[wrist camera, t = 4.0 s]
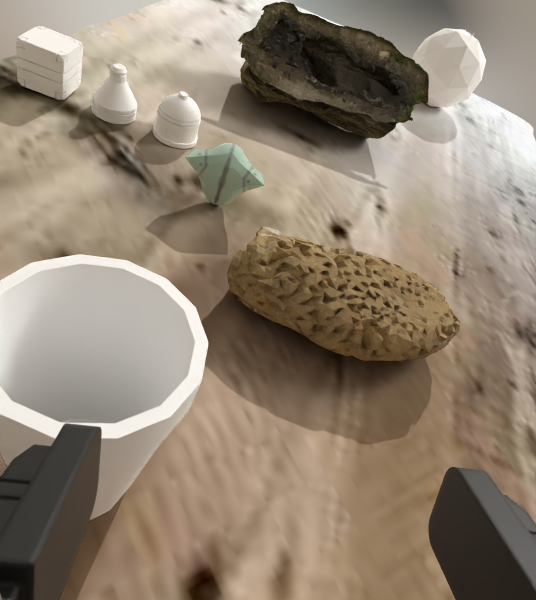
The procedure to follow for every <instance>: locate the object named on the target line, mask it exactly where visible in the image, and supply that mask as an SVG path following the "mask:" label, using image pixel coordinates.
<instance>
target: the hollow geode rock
mask: <svg viewBox="0 0 536 600" xmlns="http://www.w3.org/2000/svg"><path fill="white" fill-rule="evenodd" d="M262 10H264V14H263V15H261V18H260V20H259V21H258V23H257V25H256V27H255V28H253V29H252V30H251V31H249V32H246V33H244V34H243V35H242V36H241V37H240V39H239V40H238V41H239V42H241V43H242V44H243V45H242V50H241V58H245V60H246V61H245V63H244V64H243V66H242V68H241V69H240V70H241V80H242V83H243V84H244V85H245V86H246V87H247V88H248V89H249V90H250V91H251V92H253V93H255V95H256V98H257V102H275V101H277V102H279V103H289V104H292V105H294V106H296V107H299V108H302V109H304V110H306V111H310V112H313V113H314V115H315V116H317V117H319V118H321V119H323V120H324V121H326V122H330V123H332V124H335V125H337V126H340V127H342V128H343V129H345V130H348V131H352V132H353V134H357V135H359V136H363V137H365V138H367V139H368V138H376V139H378V138H382V137H384V136H385V135H386V134H387V133H389V132H391V131H392V130H393V129H394V128H395V127H396V124H397V123H399V122H401V123H402V122H406V121H408V120H411V121H412V120H413V119H412V118H411V117H410V116H411V112H412V110H413V105H415V104H420V103H421V101H424V102H426V103H428V90H429V76H428V73H427V72H426V71H425V70H424V69H423V68H422V67H421V66H420V65H419V64H417V63H415V60H413V59H410V58H408V57H405V56H404V55H402V54H401V53H400V52H399V51H398V50H397V49H396V47H395V46H394V45H393V44H392V43H391V42H390V41H387V40H385V39H384V38H382V37H378V36H376V35H375V34H374V33H371V32H369V31H364V30H361V29H356V28H352V27H348V26H344V27H343V26H339V25H335V24H333V23H330V22H327V21H326V20H324V19H322V18H320V17H318V16H316V15H312V14H307V13H301V12H299V11H298V10H297V8H296V7H295V5H294V4H291V3H287V2H280V3H277V2H276V3H272V4H270V5H266V6H265V7H264V8H263V9H262ZM241 43H240V44H241Z"/></svg>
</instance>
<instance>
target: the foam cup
mask: <svg viewBox="0 0 536 600" xmlns="http://www.w3.org/2000/svg"><path fill="white" fill-rule="evenodd" d="M208 344H209V343H208V340H207V337H206V334H205V332H204V329H203V326H202V324H201V321H200V318H199V315H198V313H197V310H196V307H195V306H194V305H193V304H192V303H191V302H190V301H189V300H188V299H187V298H186V297H185V296H184V295H183V294H182V293H181V292H180V291H179V290H178V289H177V288H176V287H175V286H174V285H173V284H172V283H171V282H169V281H168V280H167V279H166V278H164V277H162V276H160V275H157V274H155V273H153V272H151V271H149V270H147V269H144V268H142V267H140V266H138V265H136V264H133V263H131V262H129V261H127V260H120V259H112V258H104V257H97V256H89V255H81V254H79V255H73V256H67V257H61V258H56V259H50V260H44V261H38V262H32V263H30V264H29V265H27V266H25V267H23V268H21V269H20V270H18V271H16V272H14V273H13V274H11V275H9V276H7V277H5V278H4V279H2V280H0V453H1V455H2V457H3V459H4V461H5V463H6V465H7V467H8V466H9V464H10V463H11V461H12V460H13V459H14V458H15V457H17V456H18V455H20V454H21V453H23V452H24V451H25V450H27V449H28V448H30V447H31V446H32V445H34V444H35V445H45V446H51V445H52V444H53V442H54V440H55V439H56V437H57V435H58V433H59V432H60V430H61V428H62V427H63V425H64V424H65V423H69V424H78V425H87V426H96V427H101V430H102V438H101V452H100V466H99V480H98V490H97V495H96V500H95V504H94V508H93V511H92V514H91V517H90V520H92V519H94V518H96V517H98V516H100V515H102V514H104V513H106V512H108V511H110V510H111V509H112V507H113V506H114V505H115V504H116V503H117V501H118V500H119V499H120V498H121V497H122V496H123V494H124V493H125V492H126V491H127V489H128V488H129V487H130V486H131V484H132V483H133V481H134V480H135V479H136V477H137V476H138V474H139V473H140V472H141V470H142V469H143V467H144V466H145V465H146V463H147V462H148V460H149V459H150V457H151V456H152V455H153V453H154V452H155V450H156V449H157V448H158V446H159V445H160V444H161V443H162V442H163V441H164V439H165V438H166V437H167V436H168V435H169V434H170V432H171V431H172V430H173V429H174V428H175V427H176V425H177V424H178V423H179V422H180V421H181V419H182V418H183V417H184V416H185V415H186V414H187V412H188V411H189V410H190V407H191V405H192V403H193V400H194V398H195V396H196V393H197V391H198V388H199V386H200V384H201V381H202V375H203V370H204V365H205V359H206V354H207V349H208ZM90 520H89V521H90Z"/></svg>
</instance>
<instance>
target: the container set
mask: <svg viewBox="0 0 536 600" xmlns="http://www.w3.org/2000/svg"><path fill="white" fill-rule="evenodd" d="M16 43H17V45H18V46H17V56H18V57H17V66H18V67H17V77H18V78H17V80H18V82H19V83H20V84H21V86H25V87H26V88H29V89H32V90H34V91H37V92H39V93H42V94H45V95H47V96H50V97H53V98H55V97H56V99H58V100H64V99H65V98H67V97H68V96H69V95H70V94H71V93H72V92H73V91H75V90H76V89H77V88H78V87H79V85H80V83H81V72H82V70H81V69H82V57H83V50H82V49H83V45H82V43H81V42H80V41H78V40H76V39H73V38H71V37H68V36H65V35H63V34H61V33H58V32H55V31H53V30H51V29H48V28H46V29H45V27H43V26H36V27H34V28H33V29H31V30H29V31H28V32H26V33H24V34H22V35H21V36H19V37H18V39H17V42H16ZM126 74H127V70H126V68H125V67H124V66H123V65H121V64H117V63H116V64H113V65H112V66H111V67H110V75H109V77H108V78H107V79H106V80H105V81H104V82H103V83H102V84H101V85H100V86H99V87H98V88H97V89H96V90H95V91H94V92H93V94H92V105H91V110H92V112H93V114H94V115H95V116H97V117H98V118H100V119H102V120H104V121H106V122H109V123H113V124H129V123H132V122H133V121H134V120H135V117H136V110H137V102H136V100H135V98H134V96H133V94H132V92H131V90H130V88H129V86H128V84H127V82H126V76H127V75H126ZM200 121H201V115H200V110H199V108H198V106H197V104H196V103H195V102H194V100H193V99H191V98H190V97H189V96H188V94H187V93H185V92H180V93H179V94H172V95H169V96H167V97H166V98H164V99H163V101H162V102H161V103H160V105H159V107H158V111H157V118H156V123H155V124H154V126H153V134H154V136H155V137H156V138H157V139H158V140H159V141H160V142H162V143H164V144H166V145H168V146H171V147H175V148H180V149H187V148H191V147H193V146H195V145H196V142H197V138H198V137H197V132H198V128H199V125H200Z"/></svg>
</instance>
